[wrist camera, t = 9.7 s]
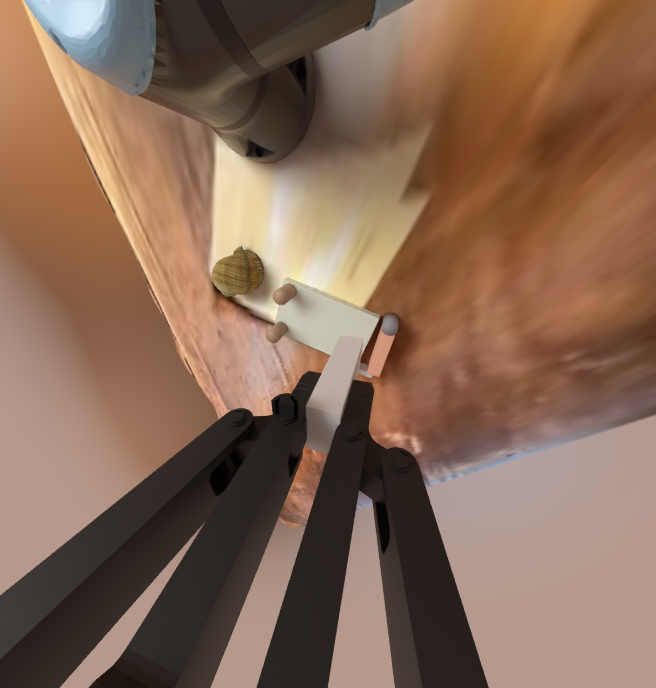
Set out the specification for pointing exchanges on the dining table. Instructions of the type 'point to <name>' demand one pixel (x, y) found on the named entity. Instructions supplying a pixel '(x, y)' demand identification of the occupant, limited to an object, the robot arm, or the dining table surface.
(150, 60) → the robot arm
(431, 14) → the dining table surface
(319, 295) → the pale board with pegs
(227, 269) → the seashell
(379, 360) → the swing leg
